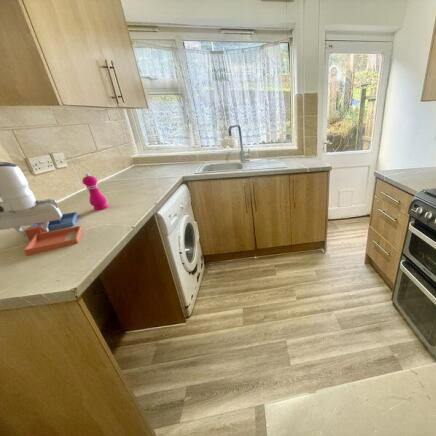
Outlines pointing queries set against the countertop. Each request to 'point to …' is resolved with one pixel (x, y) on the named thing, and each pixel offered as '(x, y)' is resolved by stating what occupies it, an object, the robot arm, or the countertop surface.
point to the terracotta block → (33, 231)
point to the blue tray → (67, 219)
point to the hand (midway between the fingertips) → (36, 233)
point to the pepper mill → (94, 193)
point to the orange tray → (52, 240)
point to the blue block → (55, 222)
